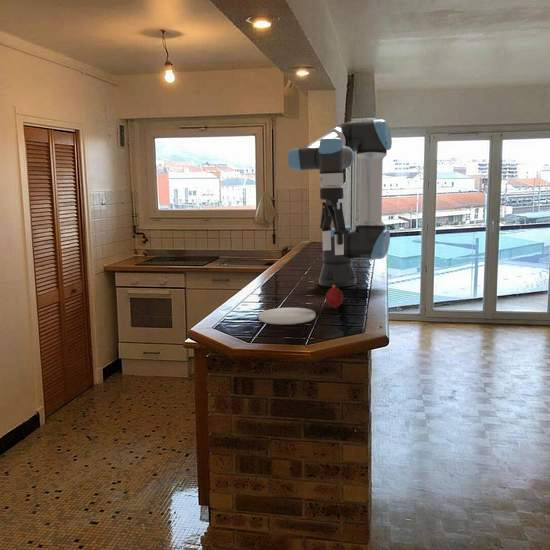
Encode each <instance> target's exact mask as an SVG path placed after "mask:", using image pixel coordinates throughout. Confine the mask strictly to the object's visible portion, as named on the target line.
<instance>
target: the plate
mask: <svg viewBox="0 0 550 550" xmlns="http://www.w3.org/2000/svg"><path fill="white" fill-rule="evenodd" d="M316 316H317V315H316V311H315V310H312V309H309V308H305V307H278V308H271V309H267V310H263V311H260V312H259V313H258V321H259V322H262V323H264V324H268V325H296V324H302V323H308V322H311V321H313V320H315V319H316V318H317V317H316Z"/></svg>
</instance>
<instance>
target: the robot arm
mask: <svg viewBox="0 0 550 550" xmlns="http://www.w3.org/2000/svg"><path fill="white" fill-rule="evenodd" d="M392 141H393V139H392V133H391V129H390V126H389V123H388V122H387V121H386V120H385V119H375V118H374V119H367V120H357V121H356V120H355V121H347V122H346V121H345V122H344V123H343V122H342V123H340V124H338V125H335V126H333V127H331V128H330V129H327V130H326V131H325V132H324V133H323V135H322V136H321V137H319V138H318V139H316V140H314V141H313V142H310V143H309V144H308V145H306V146H304V147H296V148H290V150H289V151H288V154H287V164H288V168H289V169H290V170H291V171H299V172H300V171H312V170H313V171H315V170H319V176H318V178H317V179H318V180H319V186H320V189H319V199H320V200H324V201H322V203H321V206H322V209H321V216H320V217H321V218H320V225H319V226H320V227H319V228H320V229H321V231H322V235H321V236H322V240H321V243H322V244H321V245H322V246H321V248H322V268H321V271H320V276H319V278H318V284H319V285H320V286H321V287H329V288H330V287H331V288H332V285H335V286H336V287H337V288H343V287H350V286H354V285H357V276H356V273H355V269H354V267H353V263H352V262H353V261H352V260H381V259H384V258H385V257H386V256H387V254H388V251H389V249H390V242H391V233H390V230H389V229H387V228H386V224H385V223H384V222H383V221H382V220H383V219H382V216H383V215H382V212H383V211H382V210H383V209H382V208H383V167H384V166H383V163H384V162H383V161H384V160H383V159H385V157H386V156H387V154H388V151H389V150H391V148H392V143H393V142H392ZM355 152H356V156H357V157H358V158H359V160H360V168H359V169H360V170H359V171H360V172H359V221H358V222H357V223H356V224H355V229H353V228H352V226H351V225H346V223H345V217H344V211H343V202H339V200H343V198H344V188H343V186H344V173H343V172H344V170H345V169H348V168H350V167H351V166H352V165H353V164H354V162H355V158H356V156H355ZM332 224H333V228H332V227H331V226H332Z"/></svg>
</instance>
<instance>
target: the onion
mask: <svg viewBox="0 0 550 550" xmlns="http://www.w3.org/2000/svg"><path fill="white" fill-rule="evenodd" d="M325 301H326V303H327V304H328V305H329V306H330V307H332V309H337V308H338V307H339V306H340V305H342V303H343V301H344V295H343V292H342V291H341V289H340V288H339V287H336V286H335V285H332V287H331V288H329V289H328V290H327V292H326V293H325Z"/></svg>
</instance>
